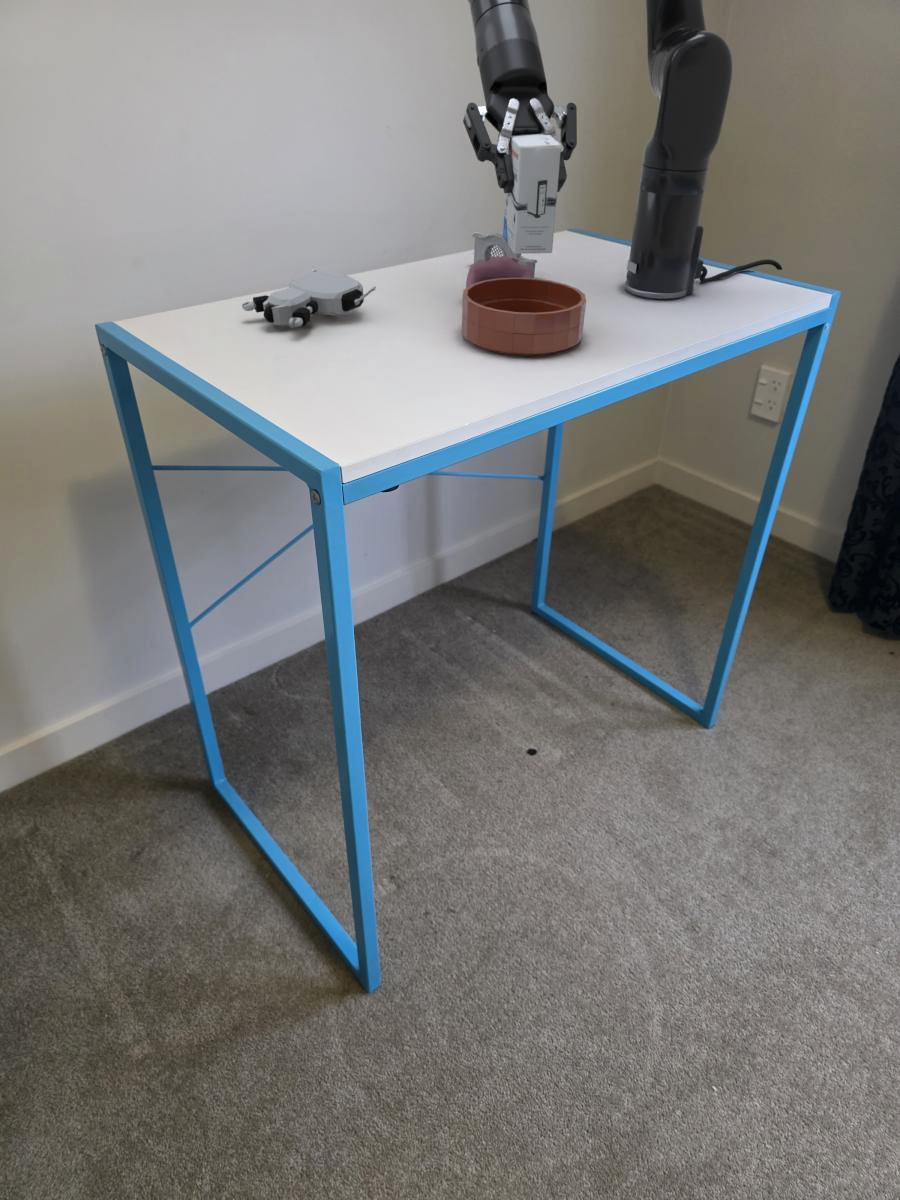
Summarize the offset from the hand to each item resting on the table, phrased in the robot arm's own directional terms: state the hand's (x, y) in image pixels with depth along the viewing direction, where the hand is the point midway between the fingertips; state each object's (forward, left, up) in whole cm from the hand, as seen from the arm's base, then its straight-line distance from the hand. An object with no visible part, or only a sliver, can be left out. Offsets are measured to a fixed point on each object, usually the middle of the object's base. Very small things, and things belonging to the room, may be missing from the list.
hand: (534, 188), depth 101 cm
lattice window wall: (-7, -31, -18) cm, 37 cm away
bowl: (0, -1, -18) cm, 18 cm away
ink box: (0, -1, -7) cm, 7 cm away
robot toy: (+26, -14, -18) cm, 35 cm away
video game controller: (-2, -17, -18) cm, 25 cm away
